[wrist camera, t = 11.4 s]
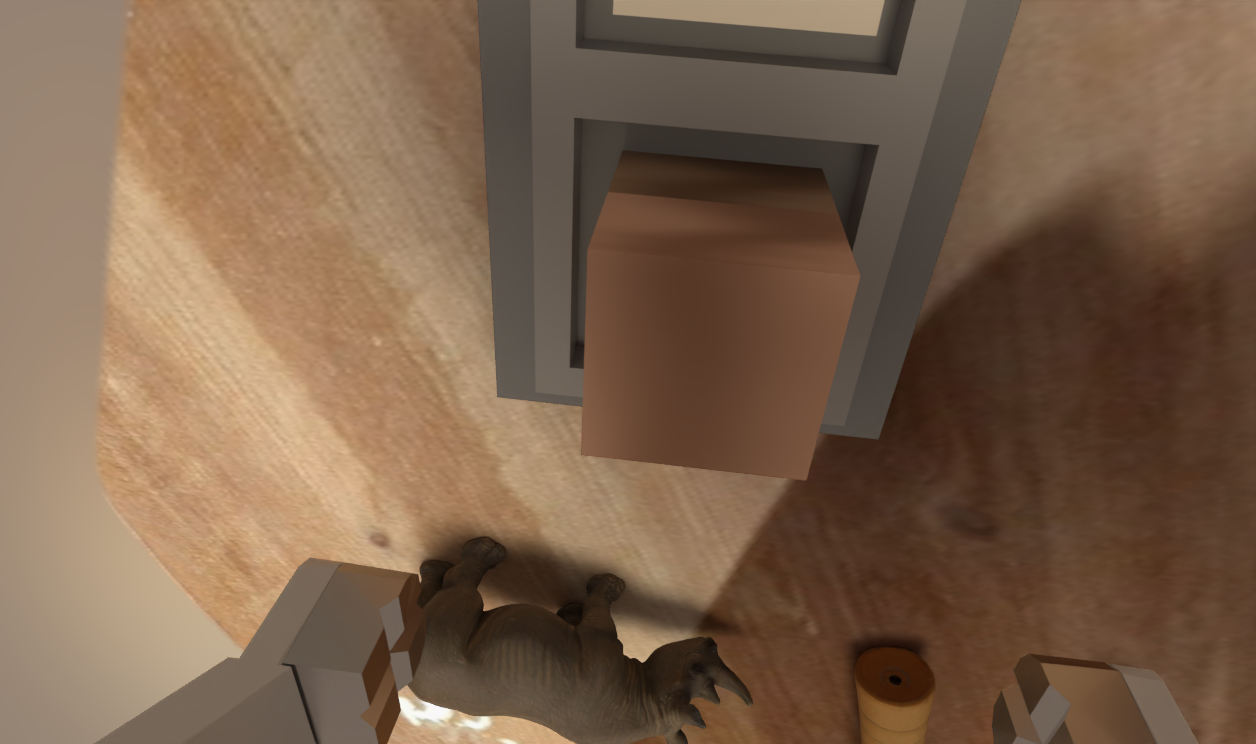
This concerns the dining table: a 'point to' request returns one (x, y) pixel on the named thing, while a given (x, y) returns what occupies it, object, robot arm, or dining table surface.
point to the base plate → (728, 150)
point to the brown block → (714, 314)
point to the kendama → (893, 696)
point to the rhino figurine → (556, 661)
